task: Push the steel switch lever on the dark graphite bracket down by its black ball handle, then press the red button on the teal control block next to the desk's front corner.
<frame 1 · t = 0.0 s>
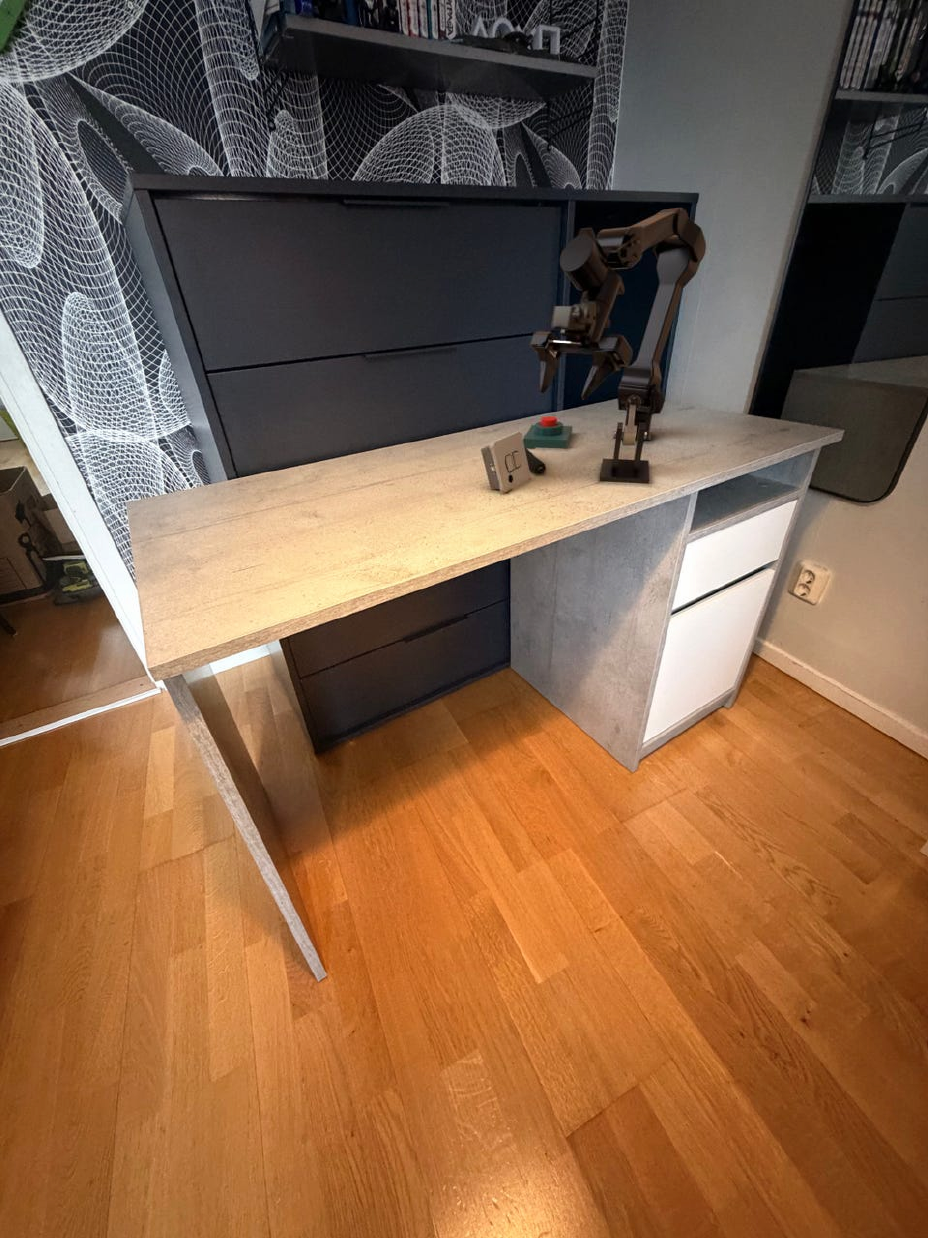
hand: (561, 395, 90), 15 cm above the table, tool tilted 35°, fingers open, 9 cm apart
bracket: (624, 474, 97), on the table
lever: (631, 418, 96), point 9 cm above the table, hinge at 18.0°
button block: (548, 441, 117), on the table
electrical switch: (505, 485, 96), on the table
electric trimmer: (527, 465, 105), on the table
button: (548, 422, 114), point 4 cm above the table, slide at 0.1 cm
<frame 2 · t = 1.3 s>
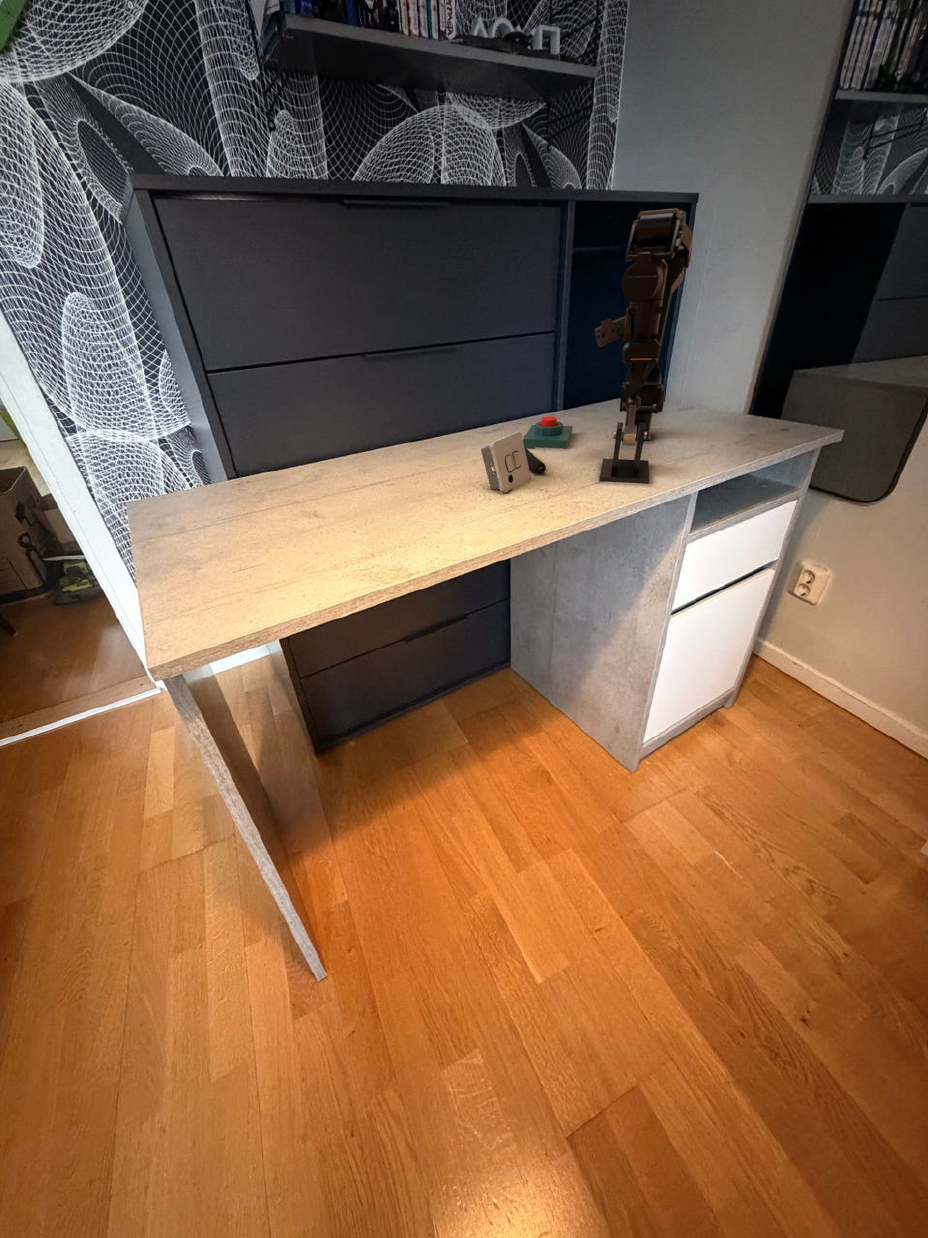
hand: (632, 393, 97), 13 cm above the table, tool pointing down, fingers open, 9 cm apart
nothing on the table moved.
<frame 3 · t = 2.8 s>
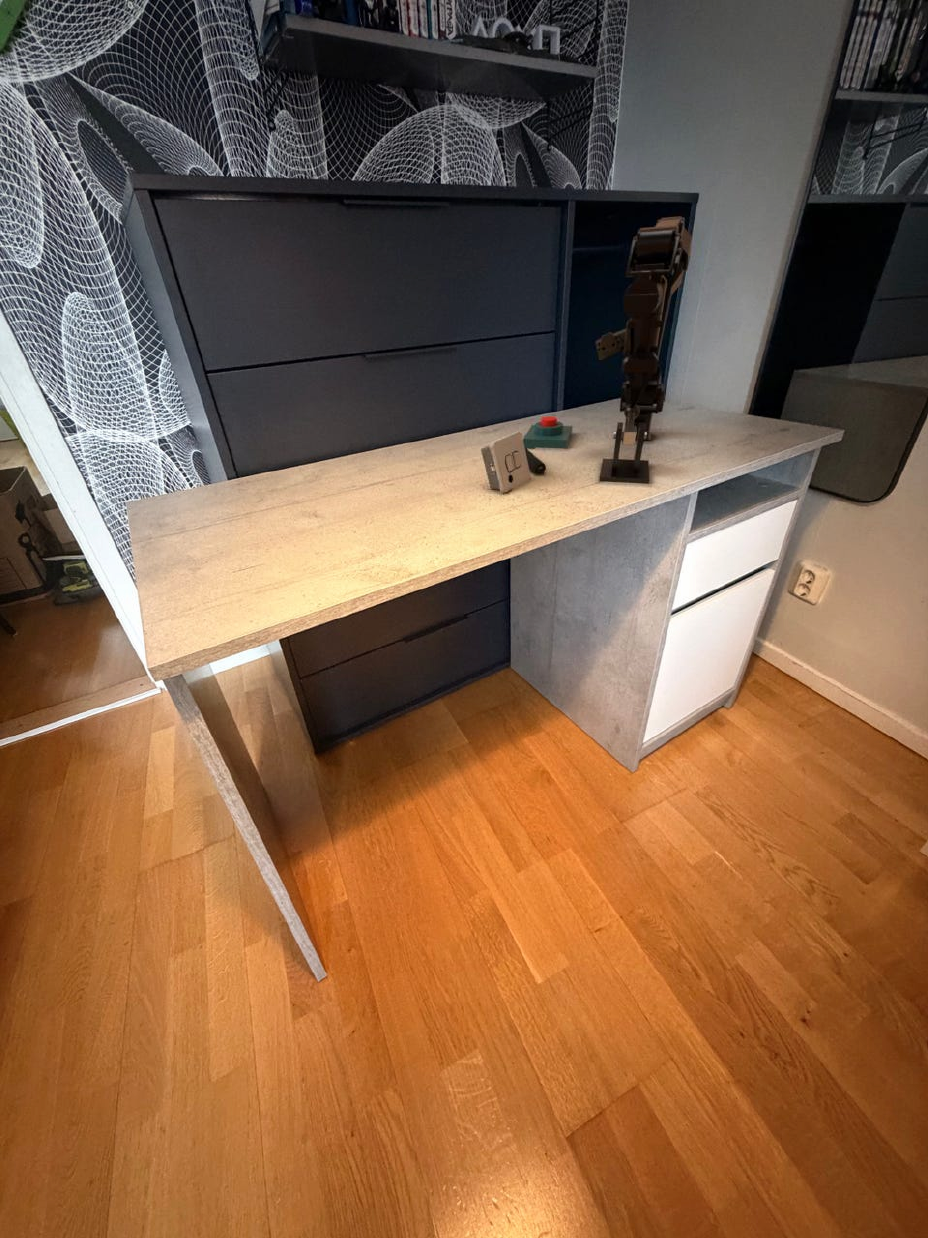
hand: (633, 403, 99), 11 cm above the table, tool pointing down, fingers closed, pressing on lever
lever: (630, 422, 96), point 8 cm above the table, hinge at 9.0°, touching gripper
everything else where it was.
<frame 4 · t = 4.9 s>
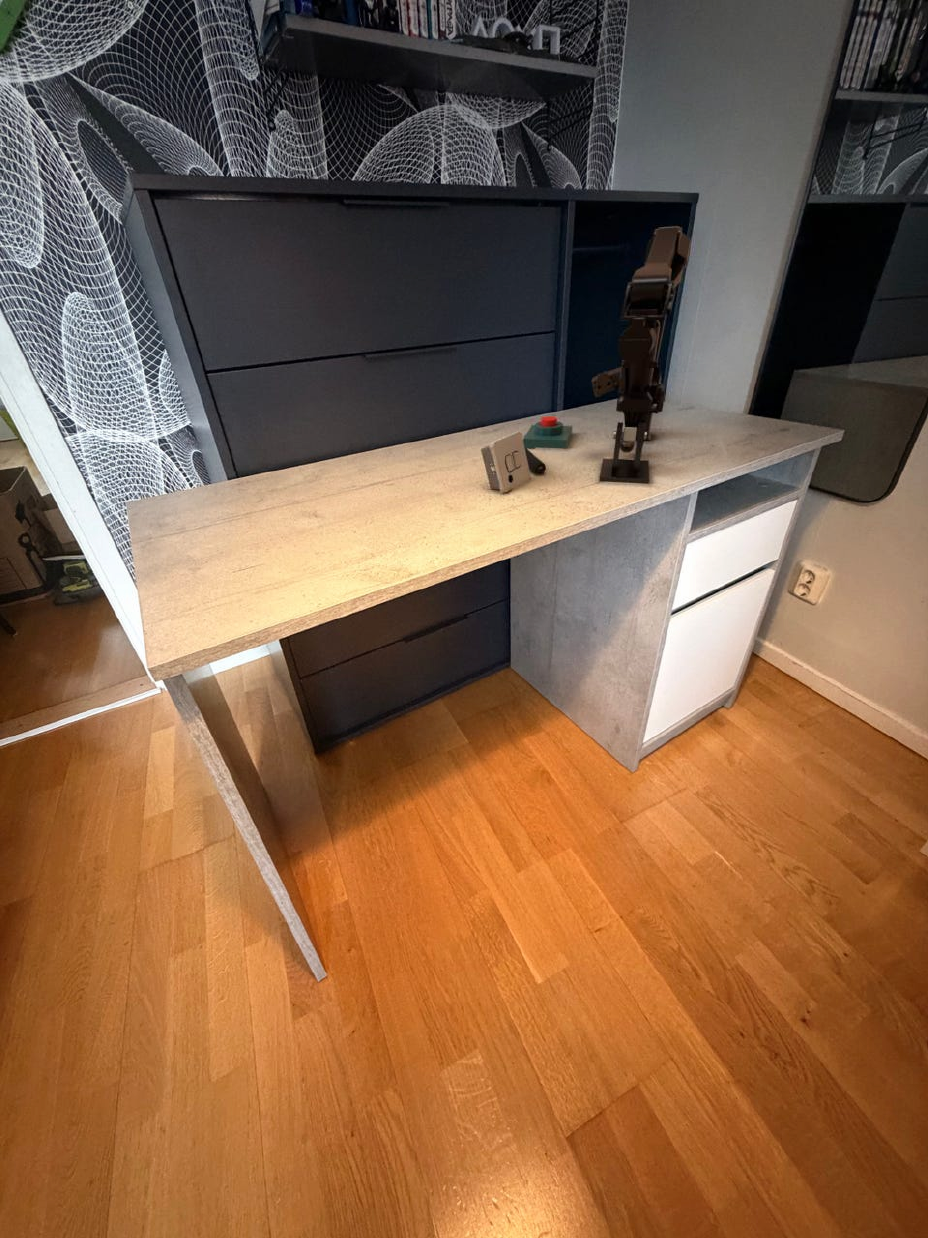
hand: (628, 437, 102), 4 cm above the table, tool pointing down, fingers closed, pressing on lever
lever: (628, 440, 98), point 5 cm above the table, hinge at -25.7°, touching gripper
everything else where it was.
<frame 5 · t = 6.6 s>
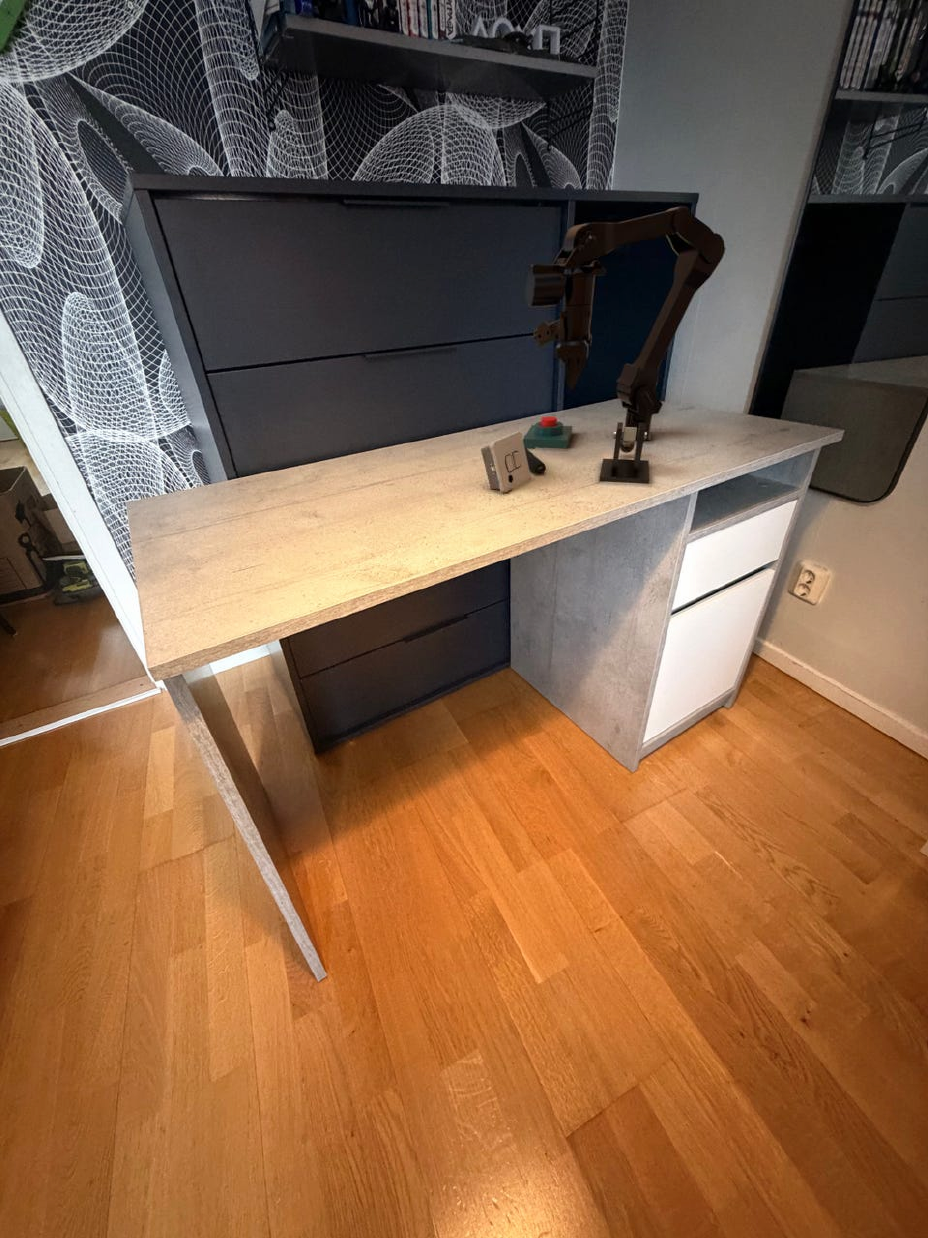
hand: (570, 389, 106), 12 cm above the table, tool pointing down, fingers closed
lever: (628, 440, 98), point 5 cm above the table, hinge at -25.7°
everything else where it was.
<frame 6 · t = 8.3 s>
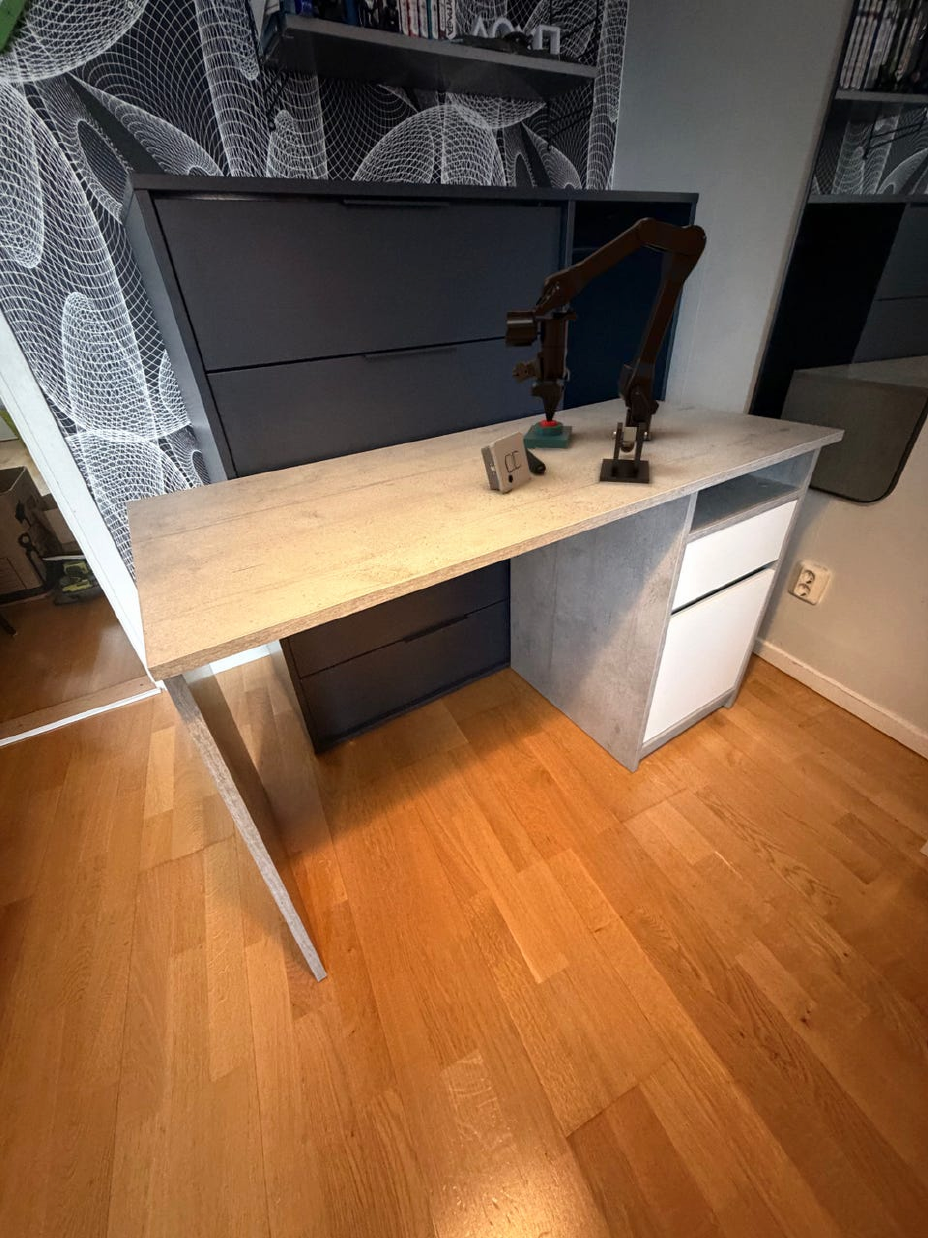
hand: (549, 421, 114), 5 cm above the table, tool pointing down, fingers closed, pressing on button
button: (548, 425, 115), point 4 cm above the table, slide at -0.6 cm, touching gripper
everything else where it was.
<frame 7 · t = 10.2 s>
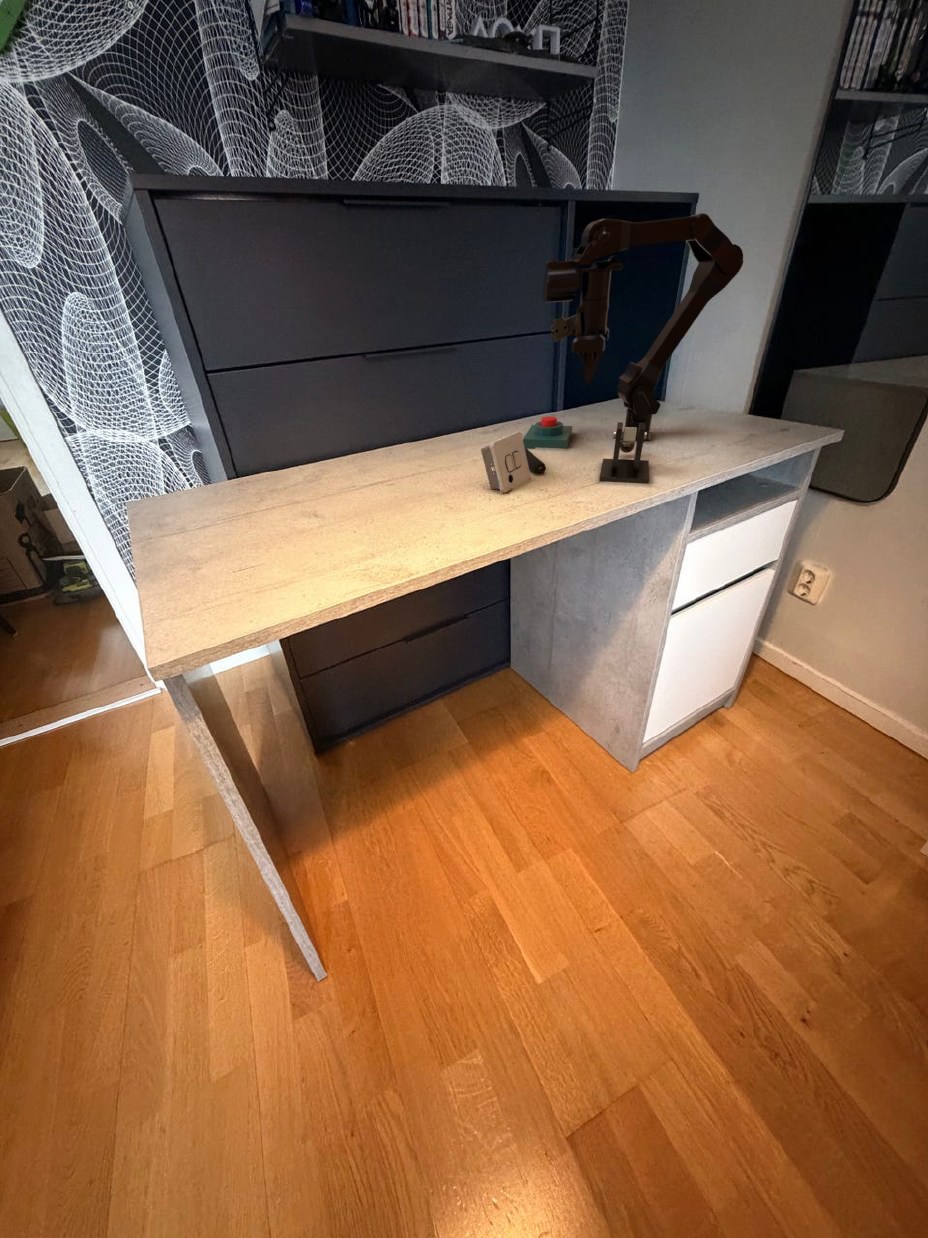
hand: (587, 382, 108), 13 cm above the table, tool pointing down, fingers closed
button: (548, 422, 114), point 4 cm above the table, slide at 0.1 cm
everything else where it was.
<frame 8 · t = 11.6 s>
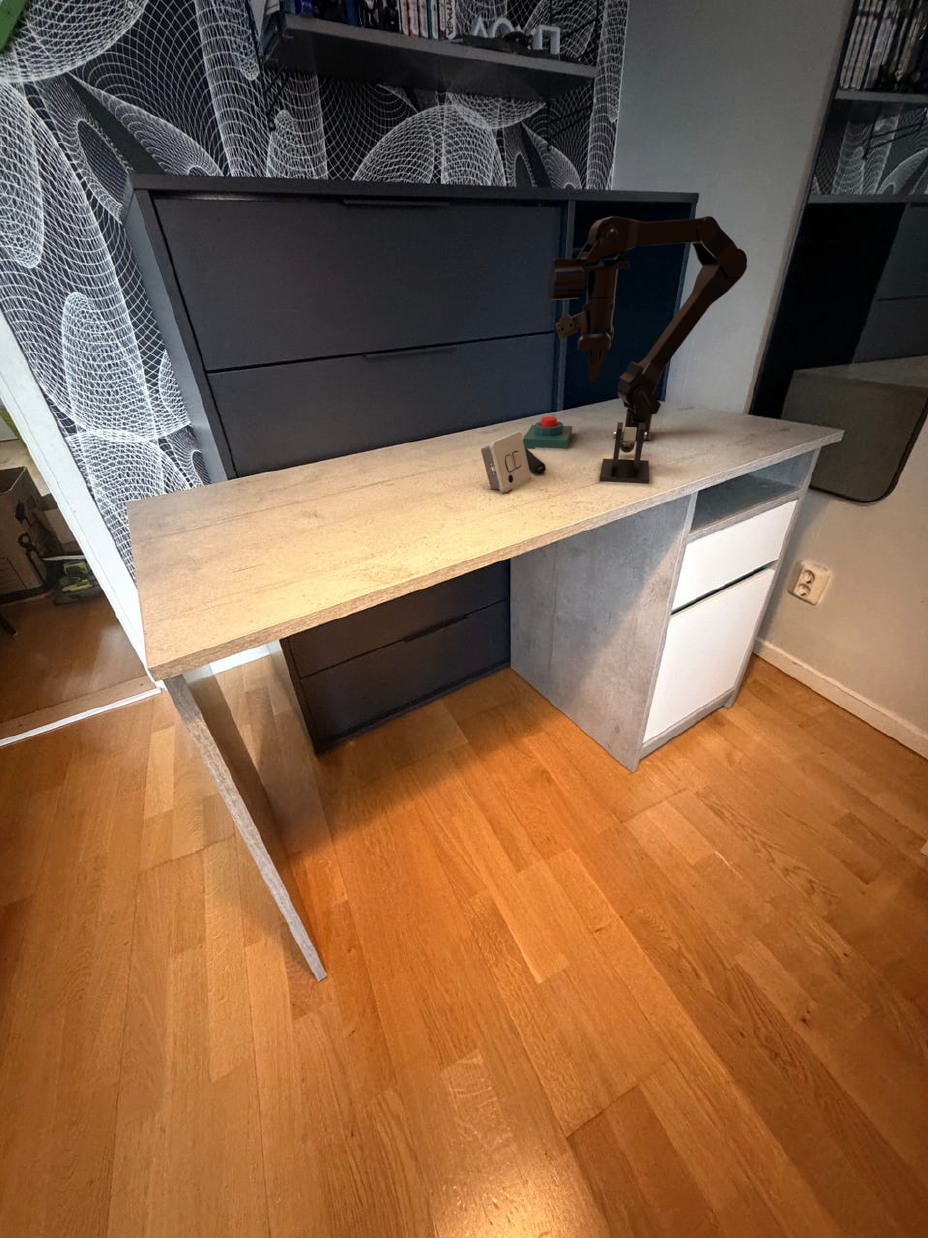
hand: (592, 381, 108), 13 cm above the table, tool pointing down, fingers closed
nothing on the table moved.
at the end: lever at -26° (first picture: +18°); button pushed in 1.1 cm at the most during the clip, back to where it started at the end; button slide at 0.1 cm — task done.
